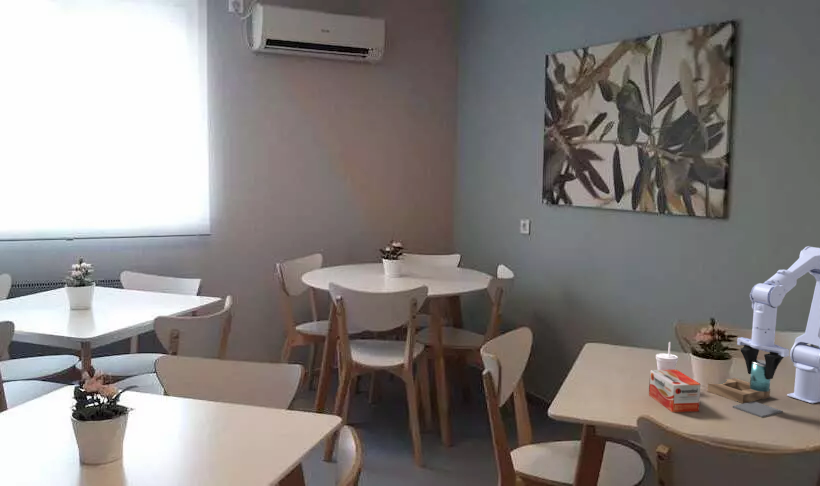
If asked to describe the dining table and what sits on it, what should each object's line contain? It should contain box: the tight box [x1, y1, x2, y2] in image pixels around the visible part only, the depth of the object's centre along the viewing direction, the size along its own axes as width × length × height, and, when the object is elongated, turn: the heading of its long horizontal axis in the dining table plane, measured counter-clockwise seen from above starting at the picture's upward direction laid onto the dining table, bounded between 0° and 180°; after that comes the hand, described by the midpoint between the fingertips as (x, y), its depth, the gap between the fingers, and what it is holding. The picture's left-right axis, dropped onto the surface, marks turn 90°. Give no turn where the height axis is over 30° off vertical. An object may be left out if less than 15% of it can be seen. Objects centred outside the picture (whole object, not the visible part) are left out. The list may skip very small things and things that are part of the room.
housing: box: [707, 377, 771, 404], centre depth 222 cm, size 12×12×2 cm
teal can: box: [749, 359, 771, 392], centre depth 208 cm, size 5×5×8 cm
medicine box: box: [648, 369, 702, 413], centre depth 213 cm, size 15×8×8 cm, turn 7°
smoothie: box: [655, 341, 679, 370], centre depth 227 cm, size 6×6×14 cm
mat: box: [732, 401, 784, 418], centre depth 209 cm, size 9×9×1 cm
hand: (760, 376), depth 208 cm, fingers closed on teal can, 5 cm apart
